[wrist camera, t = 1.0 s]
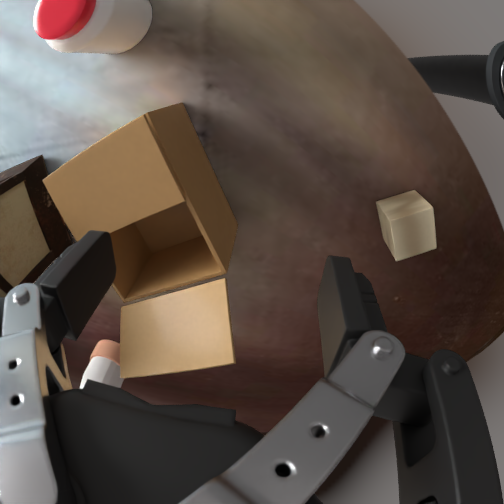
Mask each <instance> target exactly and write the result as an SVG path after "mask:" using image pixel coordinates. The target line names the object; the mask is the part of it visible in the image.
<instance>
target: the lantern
mask: <svg viewBox="0 0 504 504" xmlns="http://www.w3.org/2000/svg"><path fill="white" fill-rule="evenodd" d="M47 176H48V172H47V169H46V165H45V162H44V158H43V156H42V155H40V156H38V157H35V158H33V159H31V160H28V161H26V162H24V163H21V164H19V165H17V166H14V167H12V168H10V169H8V170H6V171H4V172H1V173H0V297H6V295H7V294H8V292H9V291H10V290H11V289H13V288H14V287H16V286H18V285H20V284H24V283H34V282H35V281H36V279H37V278H38V277H39V276H40V275H41V274H42V273H43V272H44V271H45V269H46V268H47V267H48V266H49V265H50V264H51V263H52V262H53V261H54V260H55V259H56V258H58V257H60V255H61V254H62V253H63V252H64V251H65V250H66V249H67V248H68V247H69V246H71V245H73V243H72V241H71V238H70V236H69V233H68V231H67V228H66V225H65V223H64V220H63V217H62V216H61V214H60V212H59V210H58V209H57V207H56V205H55V203H54V201H53V200H52V198H51V196H50V194H49V192H48V190H47V188H46V186H45V184H44V183H43V180H44V179H45V178H46V177H47Z"/></svg>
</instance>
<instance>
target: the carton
mask: <svg viewBox="0 0 504 504" xmlns="http://www.w3.org/2000/svg"><path fill="white" fill-rule="evenodd" d="M43 183H44V184H45V186H46V188H47V190H48V192H49V194H50V196H51V198H52V200H53V201H54V203H55V205H56V207H57V209H58V210H59V212H60V214H61V216H62V217H63V219H64V221H65V223H66V224H67V226H68V228H69V229H70V231H71V233H72V234H73V236H74V238H75V239H76V241H77V242H78V241H79V240H80V239H81V238H82V237H83V236H84V235H85V234H86V233H87V232H88V231H90V230H96V231H106V232H109V234H110V236H111V240H112V246H113V252H114V257H115V263H116V277H115V280H114V282H113V283H112V287H113V288H114V289H115V291H116V292H117V294H118V295H119V297H120V298H121V299H122V301H123V302H124V303H125V302H129V301H132V300H136V299H139V298H143V297H147V296H150V295H154V294H157V293H161V292H164V291H168V290H171V289H175V288H178V287H182V286H185V285H189V284H192V283H196V282H199V281H203V280H206V279H210V278H213V277H217V276H220V275H223V274H227V272H228V267H229V263H230V259H231V254H232V250H233V246H234V241H235V237H236V233H237V228H238V223H237V221H236V219H235V217H234V215H233V212H232V210H231V208H230V206H229V204H228V201H227V199H226V197H225V195H224V193H223V190H222V188H221V186H220V184H219V182H218V179H217V177H216V175H215V173H214V171H213V169H212V166H211V164H210V162H209V160H208V158H207V155H206V153H205V151H204V149H203V147H202V144H201V142H200V140H199V138H198V136H197V133H196V131H195V129H194V127H193V125H192V122H191V120H190V118H189V116H188V114H187V111H186V109H185V107H184V105H183V103H179V104H175V105H171V106H168V107H164V108H161V109H157V110H154V111H151V112H147V113H146V114H144V115H142V116H140V117H138V118H136V119H135V120H133V121H131V122H129V123H128V124H126V125H124V126H122V127H121V128H119V129H117V130H116V131H114V132H112V133H111V134H109V135H107V136H106V137H104V138H103V139H101V140H99V141H98V142H96V143H95V144H93V145H92V146H90V147H89V148H87V149H85V150H84V151H82V152H81V153H80V154H78V155H77V156H75V157H74V158H72V159H71V160H69V161H68V162H66V163H65V164H64V165H62V166H61V167H59V168H58V169H57V170H55V171H54V172H53V173H51V174H50V175H49V176H47V177H46V178H45V179H44V180H43Z"/></svg>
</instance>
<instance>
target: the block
mask: <svg viewBox="0 0 504 504" xmlns="http://www.w3.org/2000/svg"><path fill="white" fill-rule="evenodd" d="M376 206H377V210H378V215H379V220H380V225H381V230H382V235H383V239H384V241H385V243H386V244H387V246H388V248H389V250H390V251H391V253H392V255H393V257H394V258H395V260H396V261H400V260H403V259H406V258H409V257H412V256H415V255H418V254H421V253H424V252H427V251H430V250H433V249H436V248H437V247H436V232H435V220H434V210H433V207H432V206H431V205H430V204H429V203H428V202H427V201H426V200H425V199H424V198H423V197H422V196H421V195H420V194H419V193H418V192H416V191H415V190H412V191H409V192H406V193H402V194H399V195H396V196H392V197H389V198H386V199H383V200H379V201H376Z"/></svg>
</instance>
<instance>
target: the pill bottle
mask: <svg viewBox="0 0 504 504" xmlns="http://www.w3.org/2000/svg"><path fill="white" fill-rule="evenodd" d="M33 20H34V28H35V31H36V33H37V34H38V35H39V36H40V37H41V38H43V39H45V40H46V42H47V43H48V44H49V46H50V47H51V48H53V49H55V50H56V51H59V52H63V53H99V54H119V53H122V52H125V51H127V50H129V49H131V48H133V47H134V46H135V45H137V44H138V43H139V42H140V41H141V40H142V39H143V37H144V36H145V35H146V33H147V31H148V29H149V27H150V24H151V21H152V7H151V5H150V2H149V1H148V0H39V2H38V4H37V7H36V9H35V13H34V19H33Z"/></svg>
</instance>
